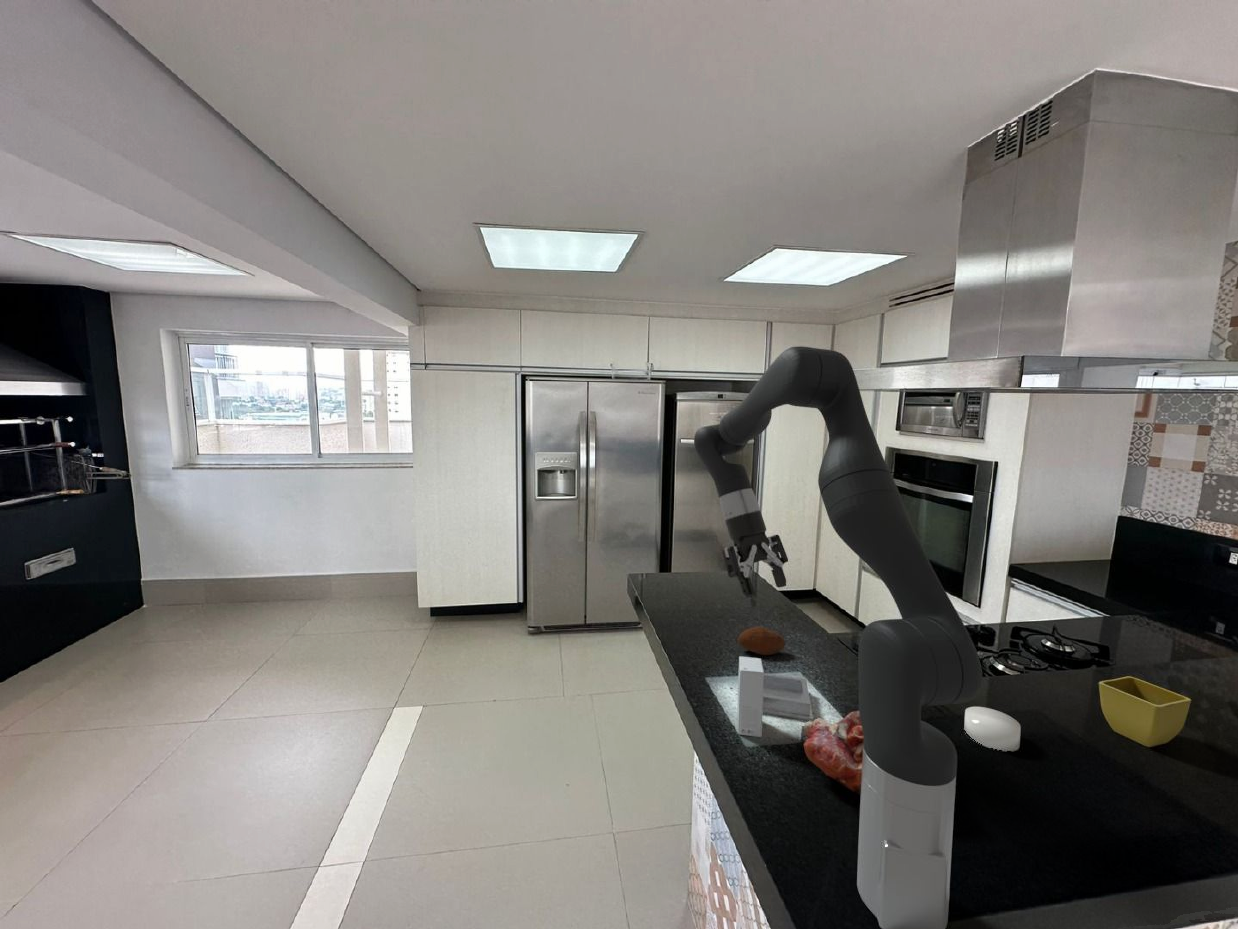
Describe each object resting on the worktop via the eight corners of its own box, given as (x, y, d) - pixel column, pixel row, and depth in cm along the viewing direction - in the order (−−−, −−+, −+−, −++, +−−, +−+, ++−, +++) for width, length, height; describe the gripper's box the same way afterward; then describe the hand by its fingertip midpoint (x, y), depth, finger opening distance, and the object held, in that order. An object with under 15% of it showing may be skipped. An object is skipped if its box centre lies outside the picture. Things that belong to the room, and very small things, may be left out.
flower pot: (1154, 757, 84) (1159, 706, 84) (1093, 727, 93) (1097, 681, 92) (1188, 749, 87) (1193, 699, 86) (1126, 721, 95) (1129, 675, 95)
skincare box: (762, 738, 88) (764, 673, 87) (737, 735, 89) (739, 670, 88) (759, 719, 94) (761, 657, 93) (736, 716, 95) (738, 655, 94)
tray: (812, 721, 94) (813, 705, 93) (742, 709, 97) (742, 694, 97) (807, 692, 104) (808, 678, 104) (744, 682, 108) (744, 669, 108)
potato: (788, 659, 119) (789, 633, 119) (740, 657, 120) (741, 631, 120) (781, 648, 125) (782, 623, 125) (735, 647, 126) (736, 622, 126)
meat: (788, 723, 93) (790, 671, 93) (911, 737, 89) (914, 683, 89) (809, 805, 73) (812, 739, 72) (970, 828, 69) (974, 759, 68)
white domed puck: (1028, 756, 84) (1030, 736, 84) (974, 747, 87) (975, 727, 86) (1006, 729, 92) (1007, 710, 92) (957, 722, 94) (958, 703, 94)
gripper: (726, 515, 97) (752, 599, 93) (779, 504, 103) (805, 581, 100) (704, 523, 103) (728, 602, 99) (755, 512, 110) (779, 585, 106)
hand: (766, 591), depth 100 cm, fingers open, 8 cm apart
